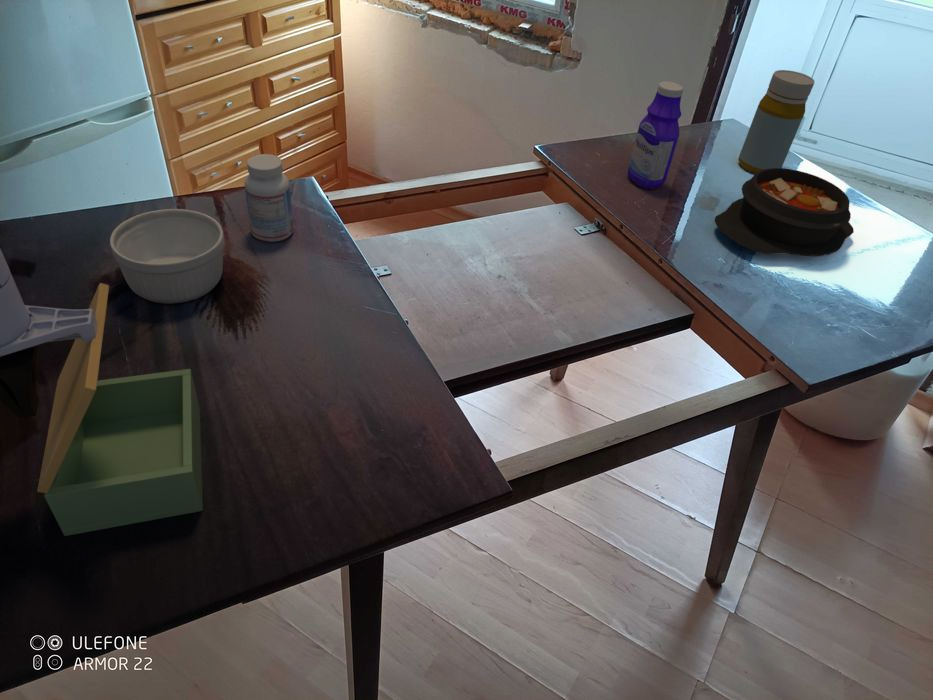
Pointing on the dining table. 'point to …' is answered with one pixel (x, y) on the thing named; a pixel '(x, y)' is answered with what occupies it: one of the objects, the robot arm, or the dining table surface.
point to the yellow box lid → (73, 393)
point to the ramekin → (169, 254)
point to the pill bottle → (268, 199)
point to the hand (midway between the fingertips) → (28, 409)
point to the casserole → (788, 214)
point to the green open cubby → (132, 455)
